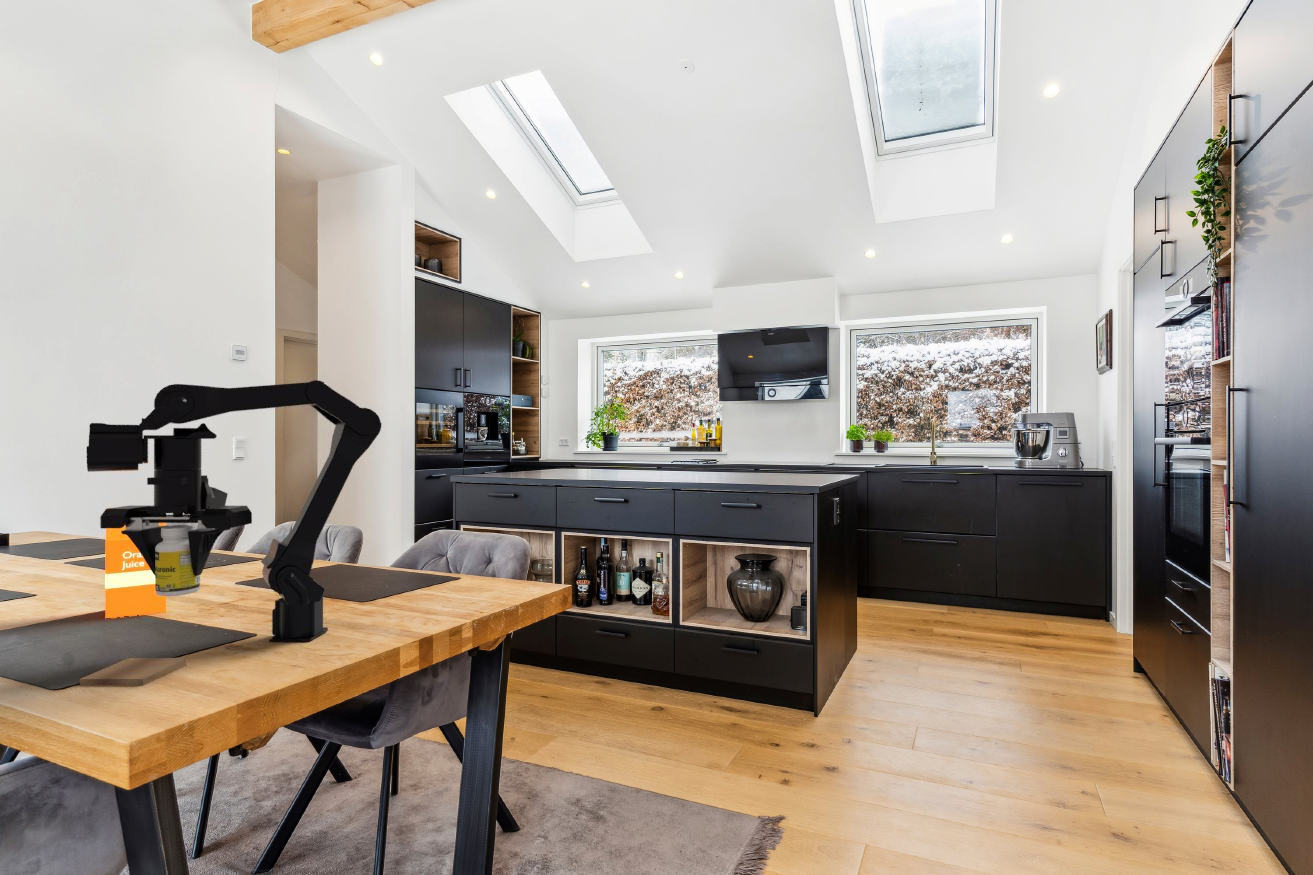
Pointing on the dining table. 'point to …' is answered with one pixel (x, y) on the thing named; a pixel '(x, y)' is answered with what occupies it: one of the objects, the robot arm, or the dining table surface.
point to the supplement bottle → (174, 563)
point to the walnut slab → (134, 671)
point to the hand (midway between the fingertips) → (178, 575)
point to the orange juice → (128, 579)
